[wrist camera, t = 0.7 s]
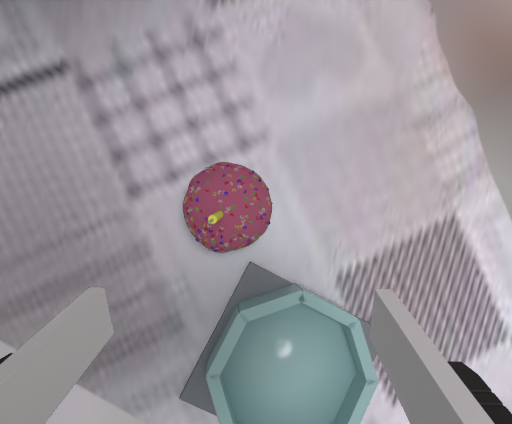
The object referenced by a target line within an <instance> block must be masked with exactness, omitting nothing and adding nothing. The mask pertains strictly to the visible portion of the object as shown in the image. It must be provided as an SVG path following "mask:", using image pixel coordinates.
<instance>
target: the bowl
mask: <svg viewBox="0 0 512 424" xmlns="http://www.w3.org/2000/svg"><path fill="white" fill-rule="evenodd" d="M206 380H207V384H208V387H209V390H210V393H211V397H212V400H213V403H214V407H215V410H216V413H217V417H218V420H219V423H220V424H360V423H361V421H362V418H363V416H364V414H365V412H366V409H367V407H368V405H369V403H370V400H371V398H372V396H373V394H374V391H375V389H376V387H377V385H378V382H377V381H378V378H377V375H376V372H375V369H374V365H373V362H372V359H371V356H370V352H369V349H368V346H367V343H366V339H365V336H364V333H363V330H362V327H361V323H360V320H359V319H358V318H357V317H356V316H354V315H353V314H351V313H350V312H348V311H347V310H346V309H344V308H342V307H340V306H338V305H336V304H334V303H332V302H330V301H328V300H326V299H324V298H323V297H321V296H319V295H317V294H315V293H313V292H311V291H309V290H307V289H305V288H303V287H301V286H299V285H297V284H291V285H288V286H285V287H282V288H280V289H277V290H274V291H271V292H268V293H265V294H262V295H259V296H257V297H254V298H251V299H248V300H245V301H242V302H239V303H238V304H237V305H236V307H235V308H234V310H233V312H232V314H231V316H230V318H229V320H228V322H227V324H226V326H225V328H224V330H223V332H222V334H221V336H220V338H219V340H218V341H217V343H216V345H215V347H214V349H213V351H212V353H211V355H210V357H209V359H208V363H207V371H206Z"/></svg>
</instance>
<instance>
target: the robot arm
mask: <svg viewBox="0 0 512 424" xmlns="http://www.w3.org/2000/svg"><path fill="white" fill-rule="evenodd" d="M113 334H114V331H113V326H112V321H111V317H110V312H109V308H108V303H107V298H106V294H105V289H104V287H89V288H88V289H87V290H86V291H84V292H83V293H82V294H81V295H80V296H79V297H78V298H76V299H75V300H74V301H73V302H72V303H71V304H69V305H68V306H67V307H66V308H65V309H64V310H63V311H61V312H60V313H59V314H58V315H57V316H56V317H54V318H53V319H52V320H51V321H50V322H49V323H48V324H46V325H45V326H44V327H43V328H42V329H41V330H40V331H38V332H37V333H36V334H35V335H34V336H33V337H31V338H30V339H29V340H28V341H27V342H26V343H25V344H23V345H22V346H21V347H20V348H19V349H18V350H16V351H15V352H14V353H10V354H8V355H6V356H5V357H3V358H1V359H0V424H45V422H46V421H47V420H48V418H49V417H50V416H51V415H52V413H53V412H54V411H55V409H56V408H57V407H58V406H59V404H60V403H61V402H62V400H63V399H64V398H65V396H66V395H67V394H68V393H69V391H70V390H71V389H72V387H73V386H74V385H75V383H76V382H77V381H78V380H79V378H80V377H81V376H82V374H83V373H84V372H85V370H86V369H87V368H88V367H89V365H90V364H91V363H92V361H93V360H94V359H95V358H96V356H97V355H98V354H99V352H100V351H101V350H102V348H103V347H104V346H105V345H106V343H107V342H108V341H109V339H110V338H111V337H112V335H113ZM369 338H370V340H371V342H372V344H373V346H374V349H375V351H376V353H377V355H378V357H379V359H380V361H381V363H382V365H383V367H384V370H385V372H386V374H387V376H388V378H389V380H390V382H391V384H392V386H393V388H394V390H395V393H396V395H397V397H398V399H399V401H400V403H401V405H402V407H403V409H404V411H405V413H406V416H407V418H408V420H409V422H410V424H512V414H511V413H510V411H509V410H508V409H507V408H506V407H505V406H503V404H502V402H501V401H500V400H499V399H498V397H497V396H496V395H495V394H494V393H492V392H491V389H490V388H489V387H488V386H487V384H486V383H485V382H484V381H483V380H482V379H481V377H480V376H479V375H478V374H477V373H475V372H474V371H473V370H471V369H470V368H469V367H467V366H466V365H465V364H463V363H462V362H447V361H446V360H445V358H444V357H443V356H442V354H441V353H440V352H439V350H438V349H437V348H436V347H435V345H434V344H433V343H432V341H431V340H430V339H429V337H428V336H427V335H426V333H425V332H424V331H423V330H422V328H421V327H420V326H419V324H418V323H417V322H416V320H415V319H414V318H413V316H412V315H411V314H410V313H409V311H408V310H407V309H406V307H405V306H404V305H403V303H402V302H401V301H400V299H399V298H398V297H397V296H396V294H395V293H394V292H393V290H392V289H375V293H374V302H373V310H372V318H371V327H370V335H369Z"/></svg>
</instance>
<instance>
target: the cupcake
mask: <svg viewBox="0 0 512 424" xmlns="http://www.w3.org/2000/svg"><path fill="white" fill-rule="evenodd" d="M268 190H269V189H268V188H267V186H266V184H265V183H264V181H263V180H262V178H261V177H260V176H259V175H258V174H257V173H255V172H254V171H252V170H250V169H248V168H246V167H244V166H242V165H238V164H233V163H229V162H219V163H216V164H214V165H211V166H210V167H208V168H207V167H205V168H204V170H203V171H202V172H200V173H198V174H197V175H196V176H194V177H193V178H192V180H191V181H190V184H189V187H188V191H187V193H186V196H185V198H184V201H183V213H184V218H185V221H186V224H187V226H188V228H189V230H190V231H191V233H192V234H193V235H194V237H195V238H196V241H199V242H200V243H201V244H202V245H204V246H205V247H206V248H208V249H209V250H210V251H215V252H222V253H224V252H228V251H231V250H237V249H240V248H243V247H246V246H249V245H251V244H252V243H254V242H255V241H256V240H257V239H258V238H259V237H260V236H261V235H262V234H263V233H264V232H265V231H266V229H267V227H268V225H269V224H270V217H271V213H272V202H271V199H270V194H269V191H268Z"/></svg>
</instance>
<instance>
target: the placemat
mask: <svg viewBox="0 0 512 424" xmlns="http://www.w3.org/2000/svg"><path fill="white" fill-rule="evenodd" d="M291 284H292V283H290V282H288V281H286V280H285V279H283V278H281V277H279V276H277V275H275V274H273V273H271V272H269V271H267V270H265V269H263V268H261V267H260V266H258V265H256V264H254V263H252V262H250V263H249V265H248V266H247V268H246V270H245V272H244V274H243V276H242V278H241V280H240V282H239V284H238V286H237V288H236V290H235V292H234V293H233V295H232V297H231V299H230V301H229V303H228V305H227V307H226V309H225V311H224V313H223V315H222V317H221V319H220V320H219V322H218V324H217V326H216V328H215V330H214V332H213V334H212V336H211V338H210V340H209V342H208V344H207V346H206V347H205V349H204V351H203V353H202V355H201V357H200V359H199V361H198V363H197V365H196V367H195V369H194V371H193V373H192V374H191V376H190V378H189V380H188V382H187V384H186V386H185V388H184V390H183V392H182V394H181V396H180V399H181V400H183V401H186V402H188V403H190V404H192V405H194V406H196V407H199V408H201V409H203V410H205V411H207V412H209V413H212V414H214V415H216V416H217V413H216V410H215V407H214V403H213V400H212V397H211V393H210V390H209V387H208V384H207V380H206V371H207V363H208V359H209V357H210V355H211V353H212V351H213V349H214V347H215V345H216V343H217V341H218V340H219V338H220V336H221V334H222V332H223V330H224V328H225V326H226V324H227V322H228V320H229V318H230V316H231V314H232V312H233V310H234V308H235V307H236V305H237V304H238V303H239V302H242V301H245V300H248V299H251V298H254V297H257V296H259V295H262V294H265V293H268V292H271V291H274V290H277V289H280V288H282V287H285V286H288V285H291ZM357 318H358V317H357ZM358 319H359V320H360V323H361V327H362V330H363V333H364V336H365V339H366V343H367V346H368V349H369V352H370V356H371V359H372V362H373V361H374V359H375V357H376V354H377V353H376V351H375V349H374V346H373V344H372V342H371V340H370V338H369V335H370V327H371V324H369V323H367V322H366V321H364V320H362V319H360V318H358Z"/></svg>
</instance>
